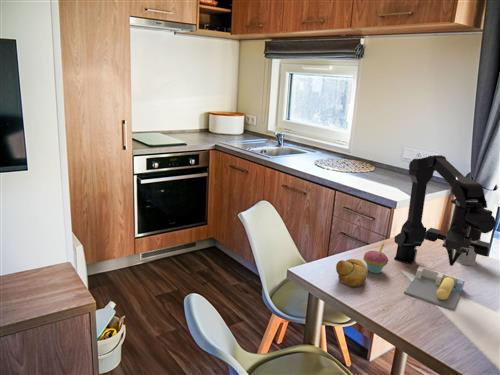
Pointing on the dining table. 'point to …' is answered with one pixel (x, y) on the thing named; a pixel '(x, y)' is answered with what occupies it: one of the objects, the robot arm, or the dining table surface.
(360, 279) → the bread roll
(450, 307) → the capsule display stand
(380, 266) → the cupcake
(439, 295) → the yellow pill shape
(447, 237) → the robot arm
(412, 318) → the dining table surface
